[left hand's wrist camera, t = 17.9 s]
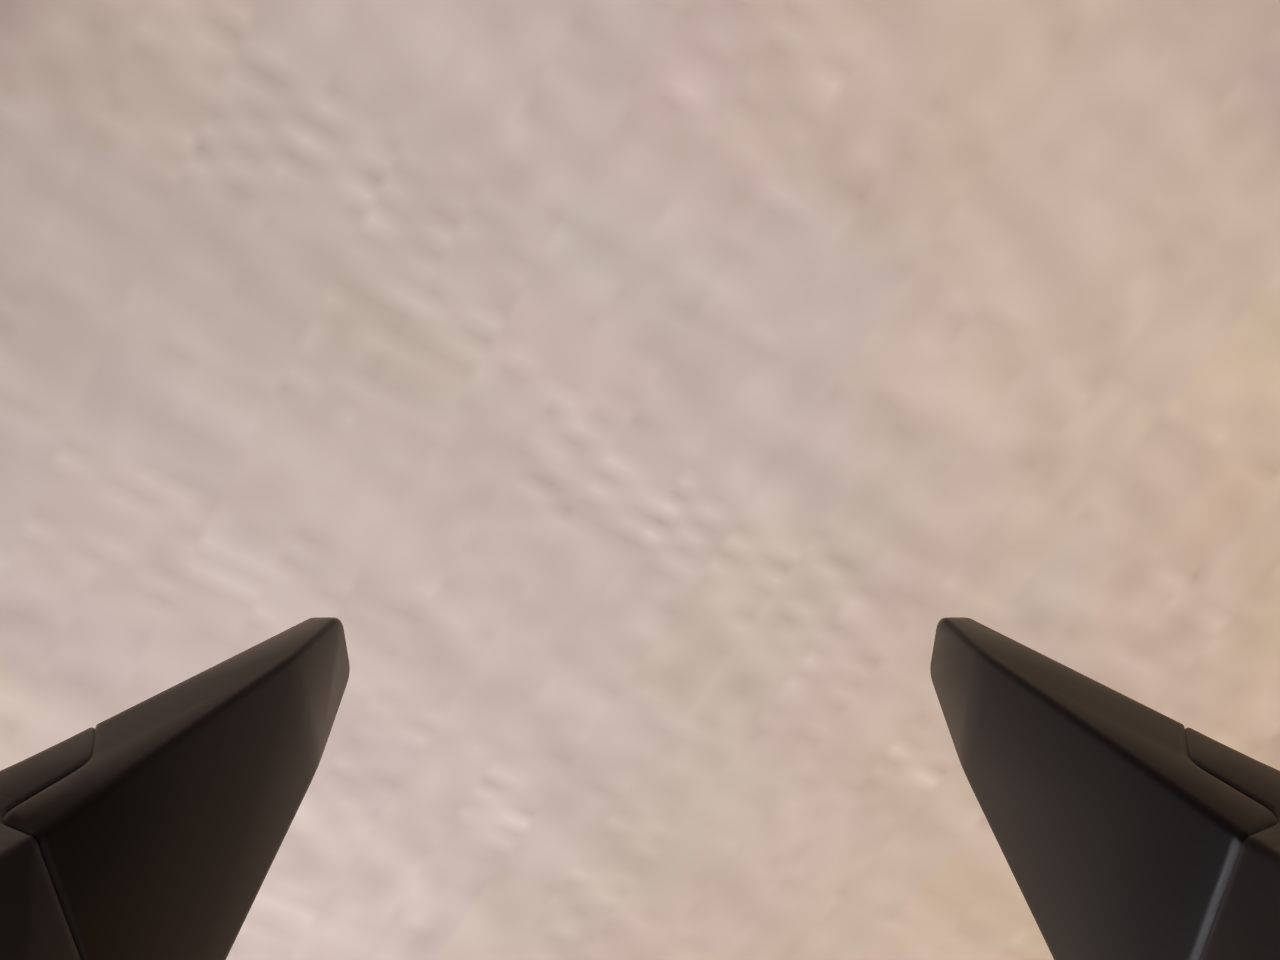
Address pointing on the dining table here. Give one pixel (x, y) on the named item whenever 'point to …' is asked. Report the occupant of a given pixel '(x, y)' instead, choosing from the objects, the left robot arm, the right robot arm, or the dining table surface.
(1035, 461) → the dining table surface
